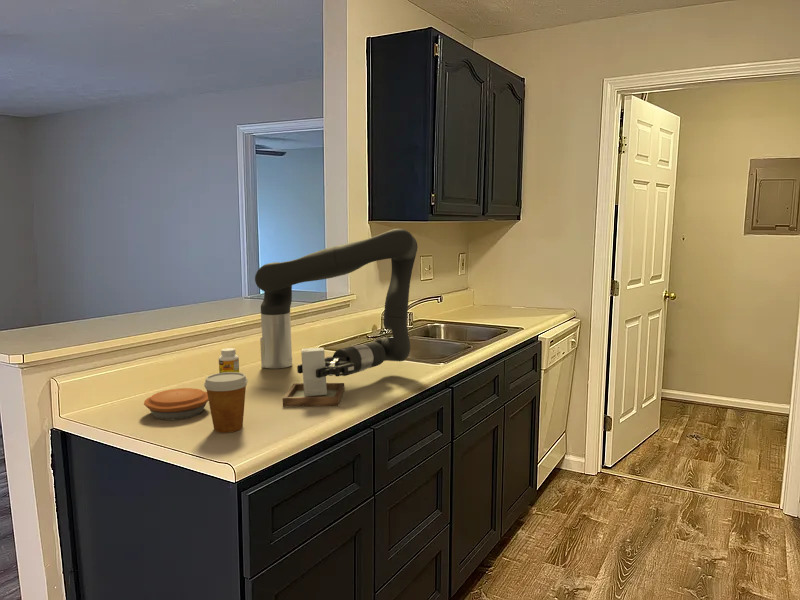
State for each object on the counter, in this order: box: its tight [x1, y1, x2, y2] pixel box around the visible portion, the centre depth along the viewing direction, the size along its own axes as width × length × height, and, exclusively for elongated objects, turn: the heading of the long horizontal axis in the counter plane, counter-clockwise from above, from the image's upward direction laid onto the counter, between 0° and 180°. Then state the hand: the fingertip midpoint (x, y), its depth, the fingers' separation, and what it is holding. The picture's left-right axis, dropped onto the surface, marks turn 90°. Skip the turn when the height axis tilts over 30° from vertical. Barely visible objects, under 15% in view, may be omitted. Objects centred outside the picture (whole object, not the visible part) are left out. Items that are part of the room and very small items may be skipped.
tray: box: [282, 382, 345, 408], centre depth 163 cm, size 14×14×2 cm
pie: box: [143, 387, 209, 421], centre depth 153 cm, size 15×16×5 cm
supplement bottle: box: [218, 347, 240, 373], centre depth 178 cm, size 6×6×10 cm
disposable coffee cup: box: [203, 371, 249, 434], centre depth 140 cm, size 10×10×12 cm
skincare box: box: [300, 347, 327, 396], centre depth 162 cm, size 6×4×12 cm
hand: (307, 371), depth 160 cm, fingers closed on skincare box, 7 cm apart
